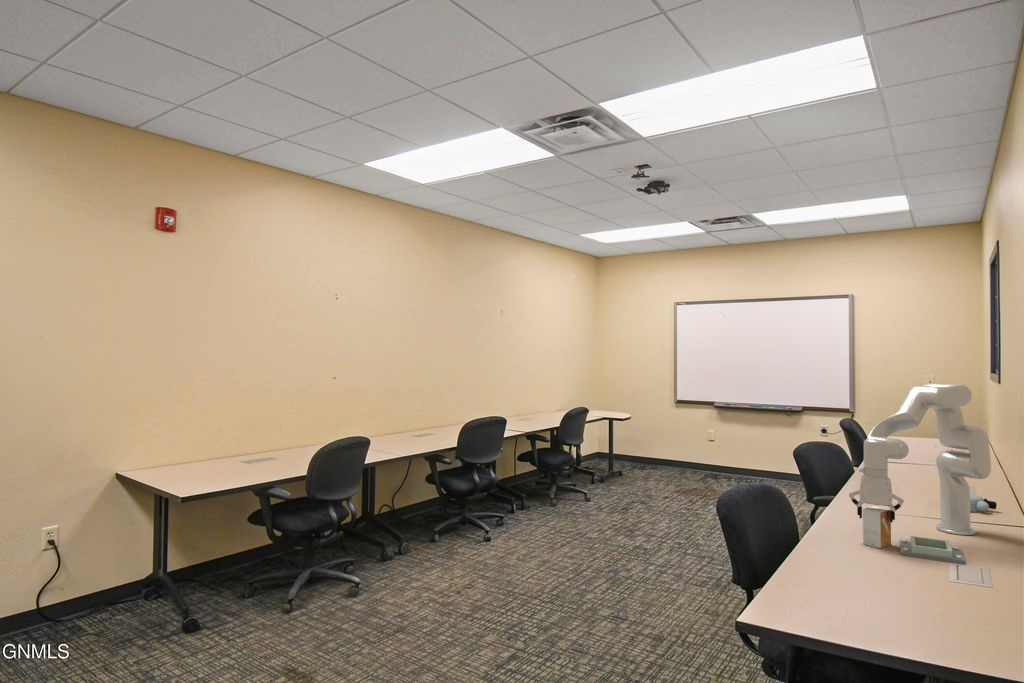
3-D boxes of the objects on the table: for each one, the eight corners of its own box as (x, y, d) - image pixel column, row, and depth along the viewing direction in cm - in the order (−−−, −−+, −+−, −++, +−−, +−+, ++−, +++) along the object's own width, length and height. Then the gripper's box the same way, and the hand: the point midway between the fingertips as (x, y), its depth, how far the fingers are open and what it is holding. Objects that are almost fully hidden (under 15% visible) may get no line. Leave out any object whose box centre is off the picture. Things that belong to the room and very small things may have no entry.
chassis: (899, 543, 218) (899, 533, 218) (960, 552, 208) (960, 541, 208) (900, 554, 205) (900, 544, 205) (965, 564, 195) (964, 553, 195)
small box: (881, 548, 212) (880, 512, 212) (862, 544, 217) (862, 508, 217) (891, 545, 216) (891, 509, 216) (873, 540, 221) (872, 505, 222)
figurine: (941, 509, 265) (998, 520, 255) (943, 490, 265) (1000, 501, 254) (938, 501, 280) (991, 511, 269) (940, 484, 280) (993, 493, 269)
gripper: (848, 471, 219) (848, 518, 218) (903, 477, 209) (904, 525, 209) (849, 468, 225) (849, 513, 224) (903, 474, 216) (903, 521, 215)
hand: (875, 519), depth 216 cm, fingers open, 9 cm apart
